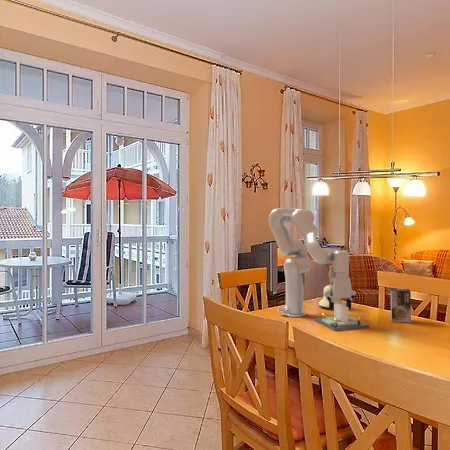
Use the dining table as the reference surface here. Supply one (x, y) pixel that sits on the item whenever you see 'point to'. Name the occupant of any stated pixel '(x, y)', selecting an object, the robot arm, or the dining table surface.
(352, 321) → the board
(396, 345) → the dining table surface
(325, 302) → the handbell
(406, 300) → the coffee box
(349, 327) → the plate
